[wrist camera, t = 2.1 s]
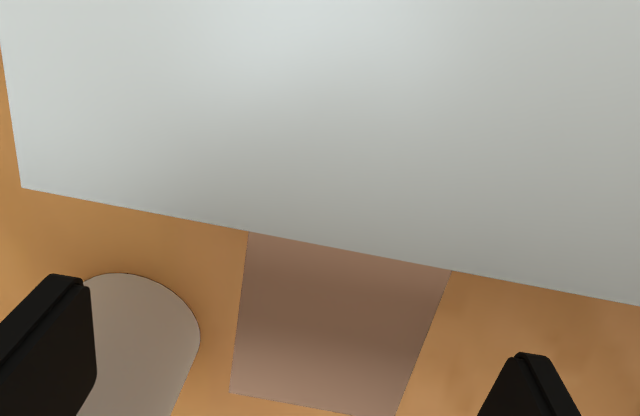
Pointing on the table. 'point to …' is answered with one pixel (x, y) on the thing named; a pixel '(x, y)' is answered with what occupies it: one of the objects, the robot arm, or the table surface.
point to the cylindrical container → (138, 346)
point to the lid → (347, 157)
